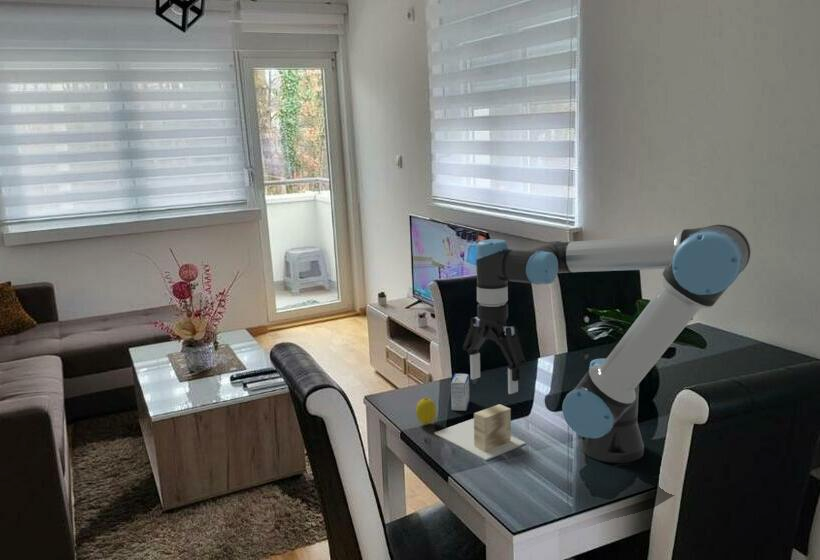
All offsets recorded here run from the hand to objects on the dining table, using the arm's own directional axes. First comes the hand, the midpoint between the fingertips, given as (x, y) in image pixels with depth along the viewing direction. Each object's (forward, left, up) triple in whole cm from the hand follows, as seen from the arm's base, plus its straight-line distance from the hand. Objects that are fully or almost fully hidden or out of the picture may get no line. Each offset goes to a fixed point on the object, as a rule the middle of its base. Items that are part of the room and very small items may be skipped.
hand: (493, 385), depth 166 cm
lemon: (+22, +5, -17) cm, 28 cm away
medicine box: (+26, -11, -17) cm, 33 cm away
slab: (+1, 0, -16) cm, 16 cm away
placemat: (+6, 0, -17) cm, 17 cm away
